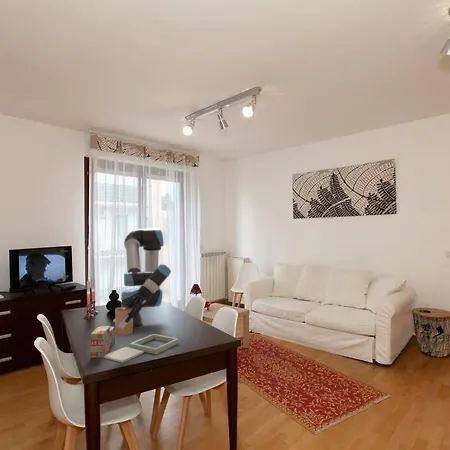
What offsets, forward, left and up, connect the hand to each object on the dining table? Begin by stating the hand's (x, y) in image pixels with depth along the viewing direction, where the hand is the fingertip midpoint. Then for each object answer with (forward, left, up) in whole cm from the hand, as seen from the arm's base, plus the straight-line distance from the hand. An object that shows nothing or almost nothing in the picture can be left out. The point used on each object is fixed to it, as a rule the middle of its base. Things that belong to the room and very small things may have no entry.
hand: (117, 325), depth 164 cm
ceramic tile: (+1, +3, -16) cm, 16 cm away
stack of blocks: (-14, +3, -16) cm, 22 cm away
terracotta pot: (+1, +3, -4) cm, 5 cm away
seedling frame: (+5, +21, -16) cm, 27 cm away
